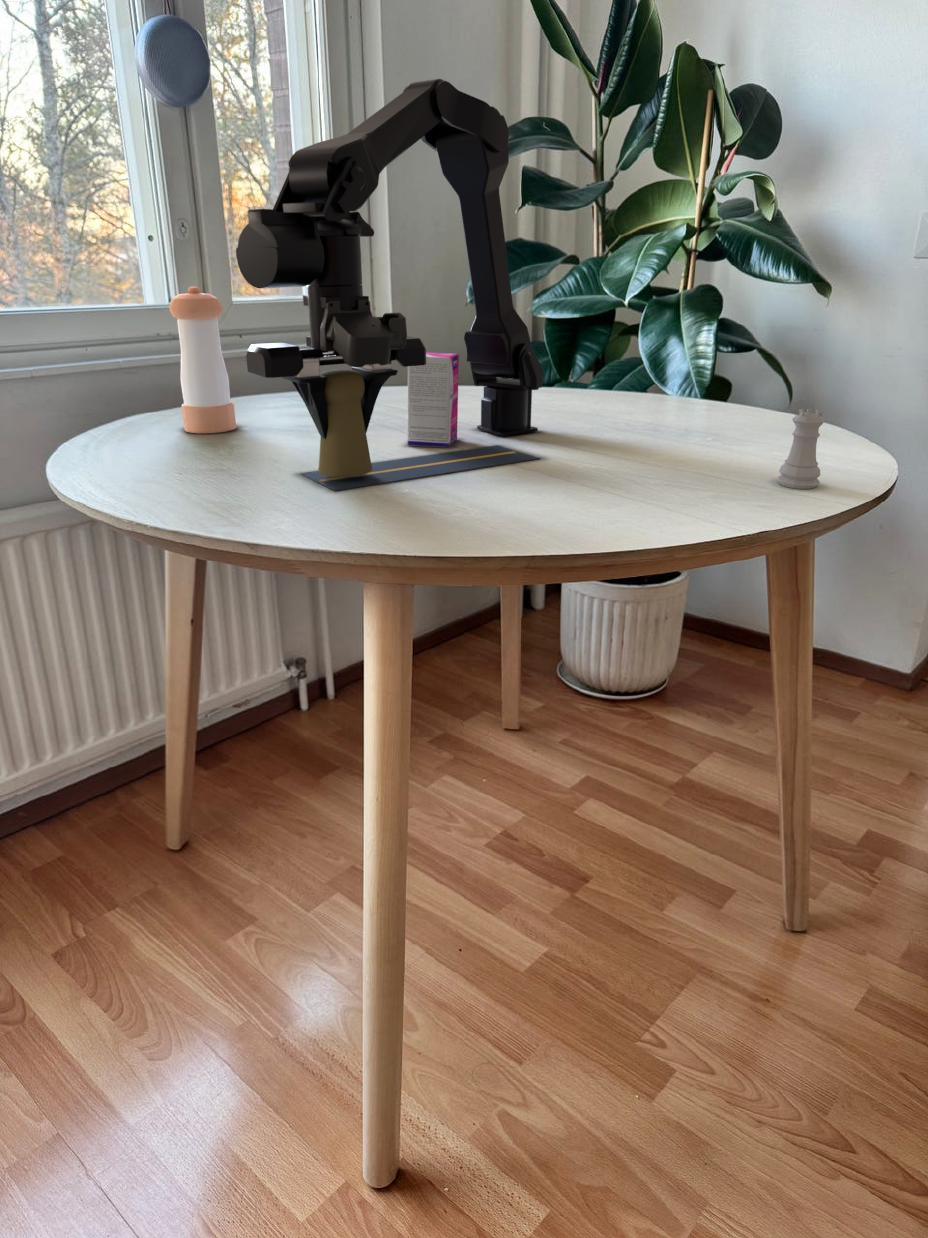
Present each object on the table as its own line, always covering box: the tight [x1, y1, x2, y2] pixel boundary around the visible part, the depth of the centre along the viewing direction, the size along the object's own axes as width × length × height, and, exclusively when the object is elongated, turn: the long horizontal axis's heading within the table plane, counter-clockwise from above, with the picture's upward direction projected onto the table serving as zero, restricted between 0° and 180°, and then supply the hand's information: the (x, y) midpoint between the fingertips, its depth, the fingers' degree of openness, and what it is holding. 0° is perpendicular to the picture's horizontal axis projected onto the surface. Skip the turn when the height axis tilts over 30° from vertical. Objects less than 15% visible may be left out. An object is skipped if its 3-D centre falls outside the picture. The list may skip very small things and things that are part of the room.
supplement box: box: [406, 351, 460, 448], centre depth 110 cm, size 6×6×12 cm
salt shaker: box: [168, 286, 237, 434], centre depth 117 cm, size 7×7×19 cm
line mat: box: [300, 444, 541, 492], centre depth 99 cm, size 28×9×1 cm, turn 124°
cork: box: [318, 368, 372, 477], centre depth 92 cm, size 6×6×11 cm
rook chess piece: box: [776, 408, 826, 490], centre depth 90 cm, size 4×4×8 cm
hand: (343, 436), depth 92 cm, fingers closed on cork, 4 cm apart
